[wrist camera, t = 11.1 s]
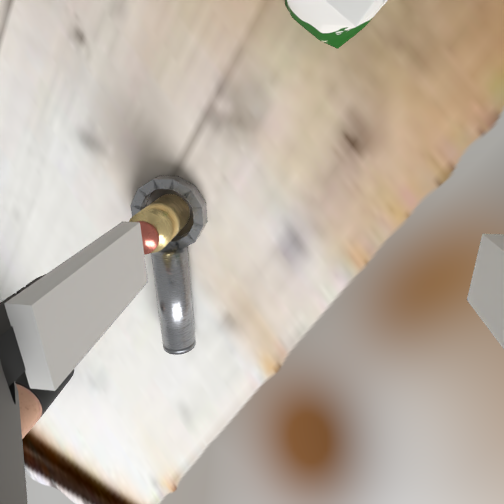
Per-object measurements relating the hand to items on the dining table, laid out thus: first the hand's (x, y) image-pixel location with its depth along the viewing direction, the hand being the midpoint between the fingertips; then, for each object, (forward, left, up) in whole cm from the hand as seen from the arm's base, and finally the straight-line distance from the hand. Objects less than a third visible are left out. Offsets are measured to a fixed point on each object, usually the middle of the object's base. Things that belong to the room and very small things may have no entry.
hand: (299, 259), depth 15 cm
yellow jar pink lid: (+8, -17, -32) cm, 37 cm away
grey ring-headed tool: (+15, -17, -32) cm, 39 cm away
